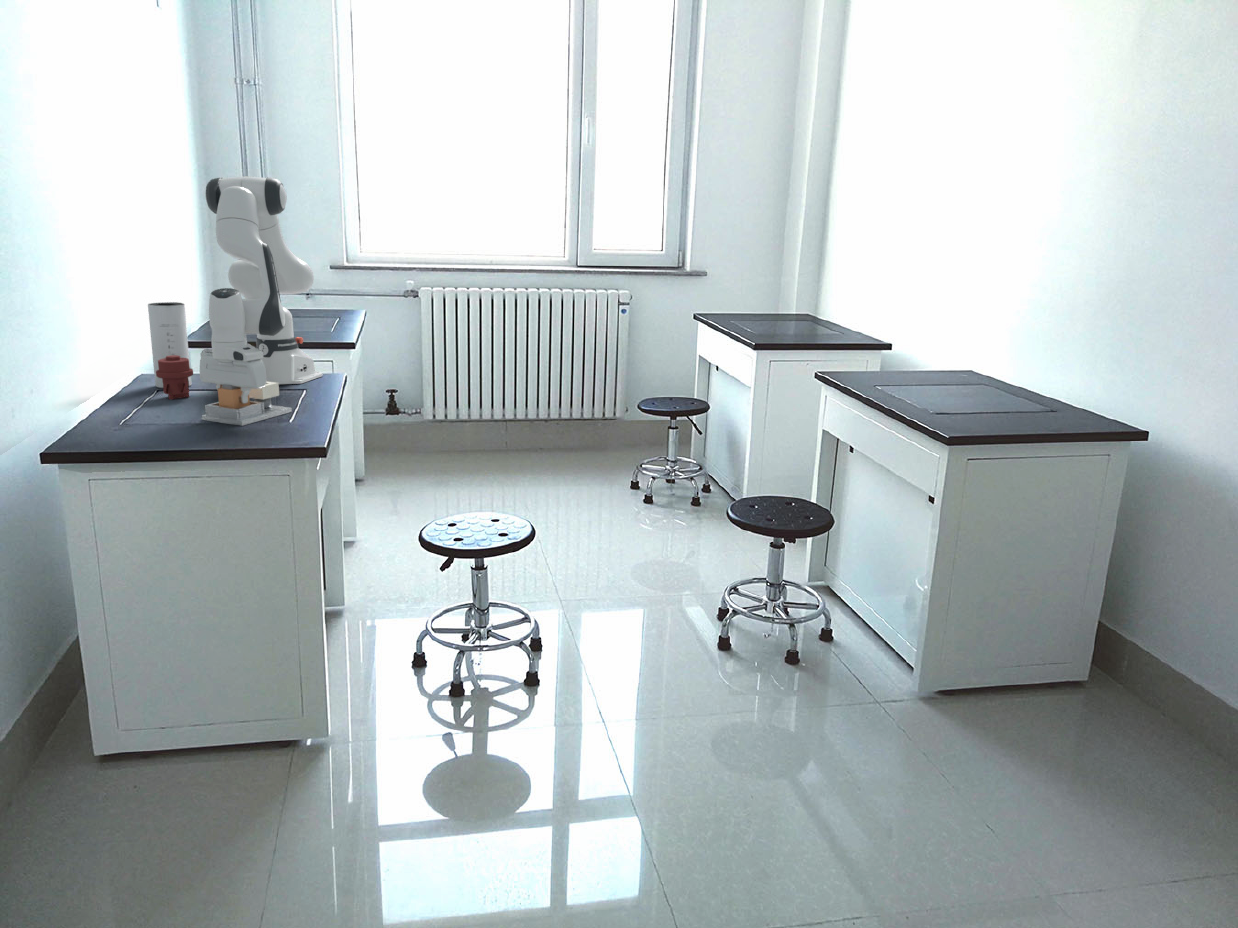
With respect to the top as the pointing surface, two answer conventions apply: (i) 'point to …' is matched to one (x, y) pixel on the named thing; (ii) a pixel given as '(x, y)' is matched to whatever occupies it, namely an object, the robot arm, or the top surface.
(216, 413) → the chassis
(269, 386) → the square housing
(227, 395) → the block
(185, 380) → the mechanical component
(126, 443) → the top surface
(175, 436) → the top surface
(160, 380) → the speaker
